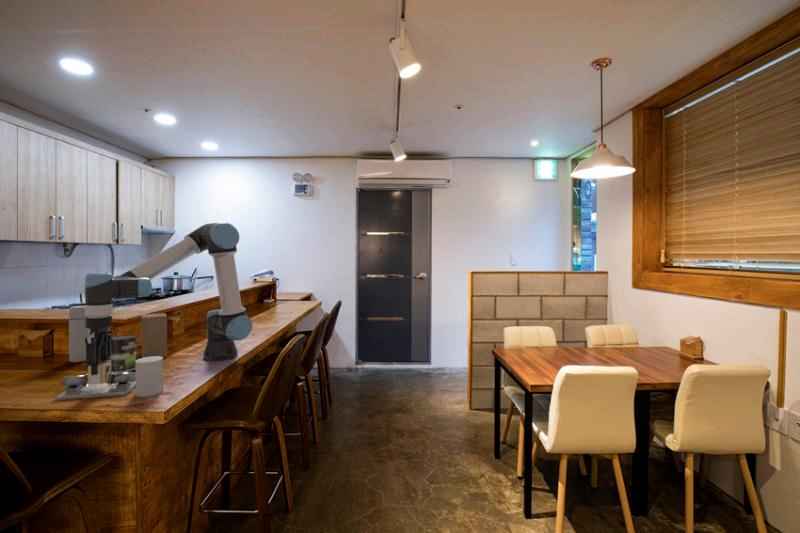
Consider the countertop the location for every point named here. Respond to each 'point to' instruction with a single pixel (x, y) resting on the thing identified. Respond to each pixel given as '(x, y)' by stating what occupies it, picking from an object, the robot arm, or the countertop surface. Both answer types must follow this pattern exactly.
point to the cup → (149, 376)
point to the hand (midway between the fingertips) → (99, 380)
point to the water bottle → (77, 334)
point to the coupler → (104, 372)
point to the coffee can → (123, 353)
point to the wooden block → (154, 335)
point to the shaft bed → (97, 386)
